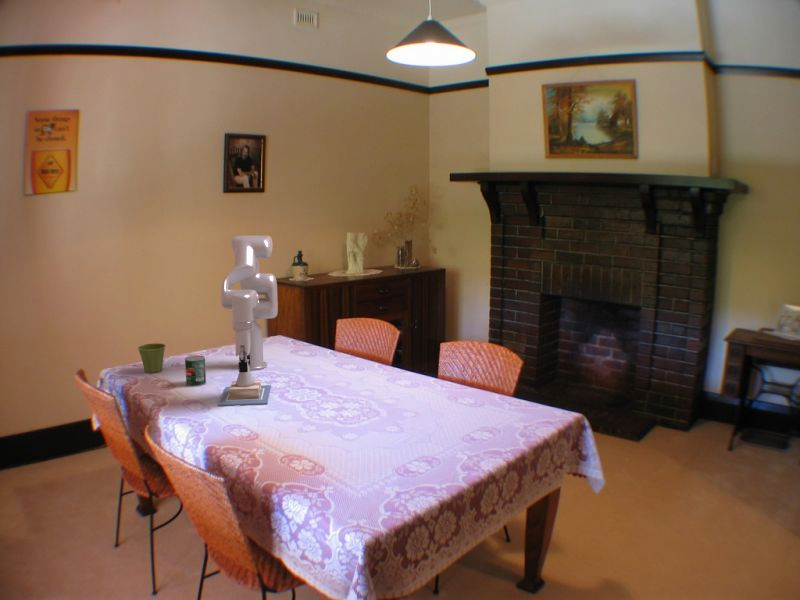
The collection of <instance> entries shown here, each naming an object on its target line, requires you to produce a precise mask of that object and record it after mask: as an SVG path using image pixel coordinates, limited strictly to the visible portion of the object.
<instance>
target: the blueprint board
mask: <svg viewBox="0 0 800 600" xmlns="http://www.w3.org/2000/svg"><path fill="white" fill-rule="evenodd" d="M229 388H230V386H226V387H225V388H224V390H223V393H222V395H221V396H220V399H219V402H218V404H217V406H218V407H233V406H234V405H240V406H257V405H259V406H261V405H262V406H263V404H265V405H268V402H269V399H270V398H269V397H270V394H269V393H271V388H272V385H271V384H269V385H266V384H265V385H261V392H260V396H259V399H234V400H229ZM234 407H235V406H234Z"/></svg>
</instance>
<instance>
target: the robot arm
mask: <svg viewBox="0 0 800 600" xmlns="http://www.w3.org/2000/svg"><path fill="white" fill-rule="evenodd" d="M230 242H231V243H230V244H231V248H232V251H233V254H234V262H233V263H234V264H233V265H234V266H233V269H232V270H230V271H229V273H227V275H226V276H225V277H224V279H223V281H222V283H221V292H220V303H221V306H222V307H223V308H224V309H227V310H232V311H231V314H232V315H231V316H232V330H233V331H235V334H234V335H235V338H234V339H235V340H234V341H235V344H234V345H235V357H238V372H248V366H249V370H250V371H257V370H262V369H264V368H267V366H268V362H266V361H264V341H263V338H264V337H263V327H262V325H261V324H260V322H259V321H258V320H260V319H262V320H266V319H267V320H268V319H275V318H276V317H277V316H278V313H279V311H278V310H279V307H278V306H279V303H278V282H277V279H276V276H275V275H274V274H273V273H268V272H267V273H265V272H264V273H263V272H262V273H261V272H260V262H259V260H258V259H269V258H270V257H271V256H272V252H273V248H274V246H273V245H274V244H273V243H274V242H273V239H272V237H271V236H270V235H235V236H234V237H232V239H231V241H230ZM237 283H239V287H240V289H231V288H232V287H233V286H234V285H236V284H237ZM261 295H262V296H263V295H264V296H266V297H260V296H261ZM247 359H249V361H248V364H247Z"/></svg>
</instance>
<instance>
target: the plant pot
mask: <svg viewBox="0 0 800 600" xmlns="http://www.w3.org/2000/svg"><path fill="white" fill-rule="evenodd" d="M166 347H167V344H166V343H160V342H159V343H158V342H155V343H154V342H153V343H147V344H143V345H142V344H141V345H139V346H137V347H136V348H137V350H138V352H139V354H140V358H141V361H142V362H141V363H142V366H143V369H144V372H145V373H146V372H147V373H146V374H154V373H160V372H162V371H163V365H164V356H165V355H164V353H165V349H166Z"/></svg>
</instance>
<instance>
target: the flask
mask: <svg viewBox="0 0 800 600" xmlns="http://www.w3.org/2000/svg"><path fill="white" fill-rule="evenodd" d="M248 361H249V359H247V364H248ZM238 372H239V371H238ZM254 380H255V379H254V376H253V375H252V372H251V370H249V366H248V372H239V373H238V375H237V378H236V380H235V381H236V384H235V385H237V386H241V387H247V386H251V385H253V384H255V381H254Z"/></svg>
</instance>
